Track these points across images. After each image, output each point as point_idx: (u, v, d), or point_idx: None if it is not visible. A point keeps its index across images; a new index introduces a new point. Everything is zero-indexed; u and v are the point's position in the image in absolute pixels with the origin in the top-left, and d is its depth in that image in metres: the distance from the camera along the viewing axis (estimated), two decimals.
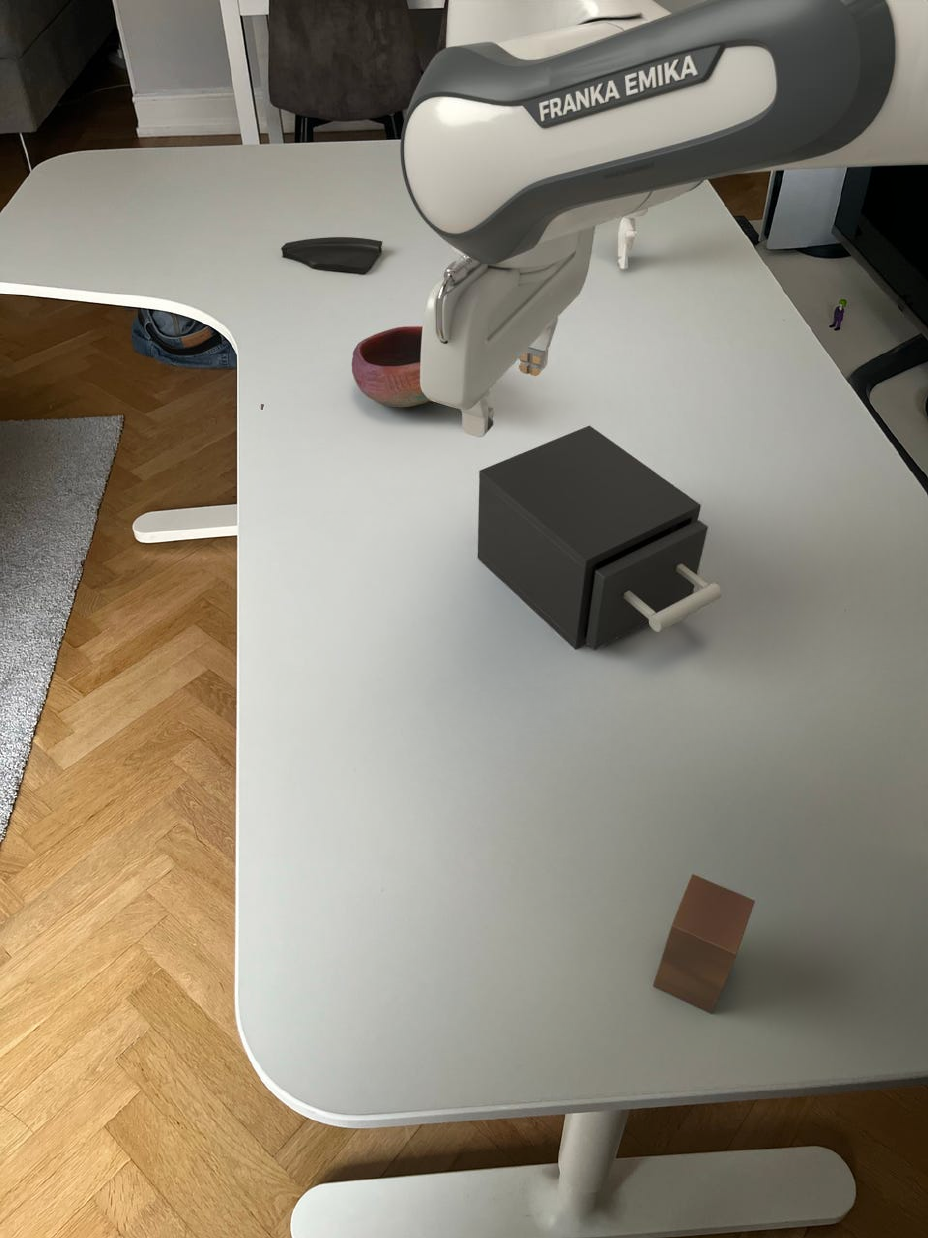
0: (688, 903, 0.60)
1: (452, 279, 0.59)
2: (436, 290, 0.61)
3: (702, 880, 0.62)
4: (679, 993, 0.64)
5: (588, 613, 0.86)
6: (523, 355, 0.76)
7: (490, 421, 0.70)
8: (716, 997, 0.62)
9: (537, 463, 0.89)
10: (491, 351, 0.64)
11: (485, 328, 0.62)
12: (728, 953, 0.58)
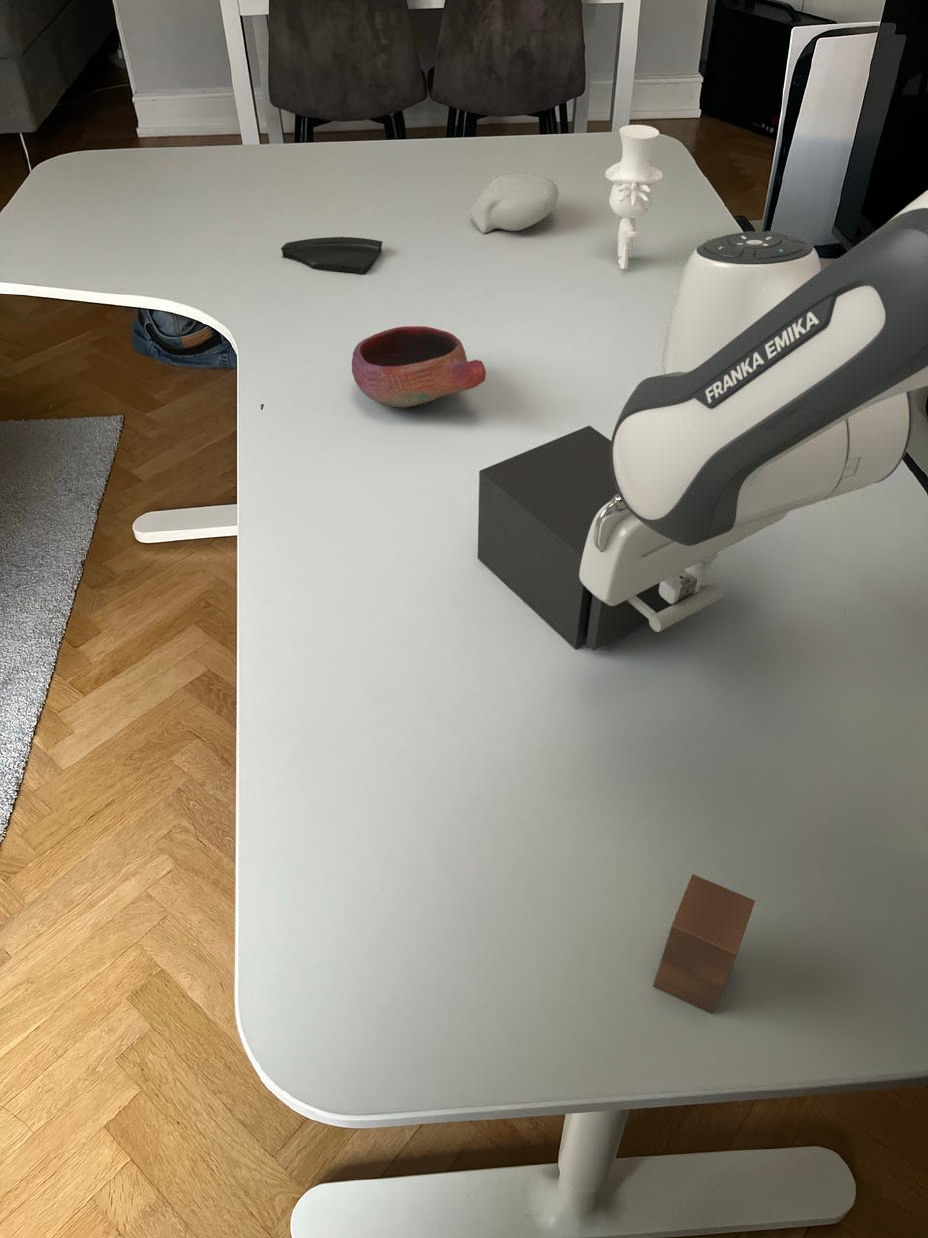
0: (688, 903, 0.60)
1: (616, 505, 0.69)
2: (607, 506, 0.71)
3: (702, 880, 0.62)
4: (679, 993, 0.64)
5: (588, 613, 0.86)
6: None
7: (682, 593, 0.81)
8: (716, 997, 0.62)
9: (537, 463, 0.89)
10: (646, 565, 0.73)
11: (639, 548, 0.71)
12: (728, 953, 0.58)
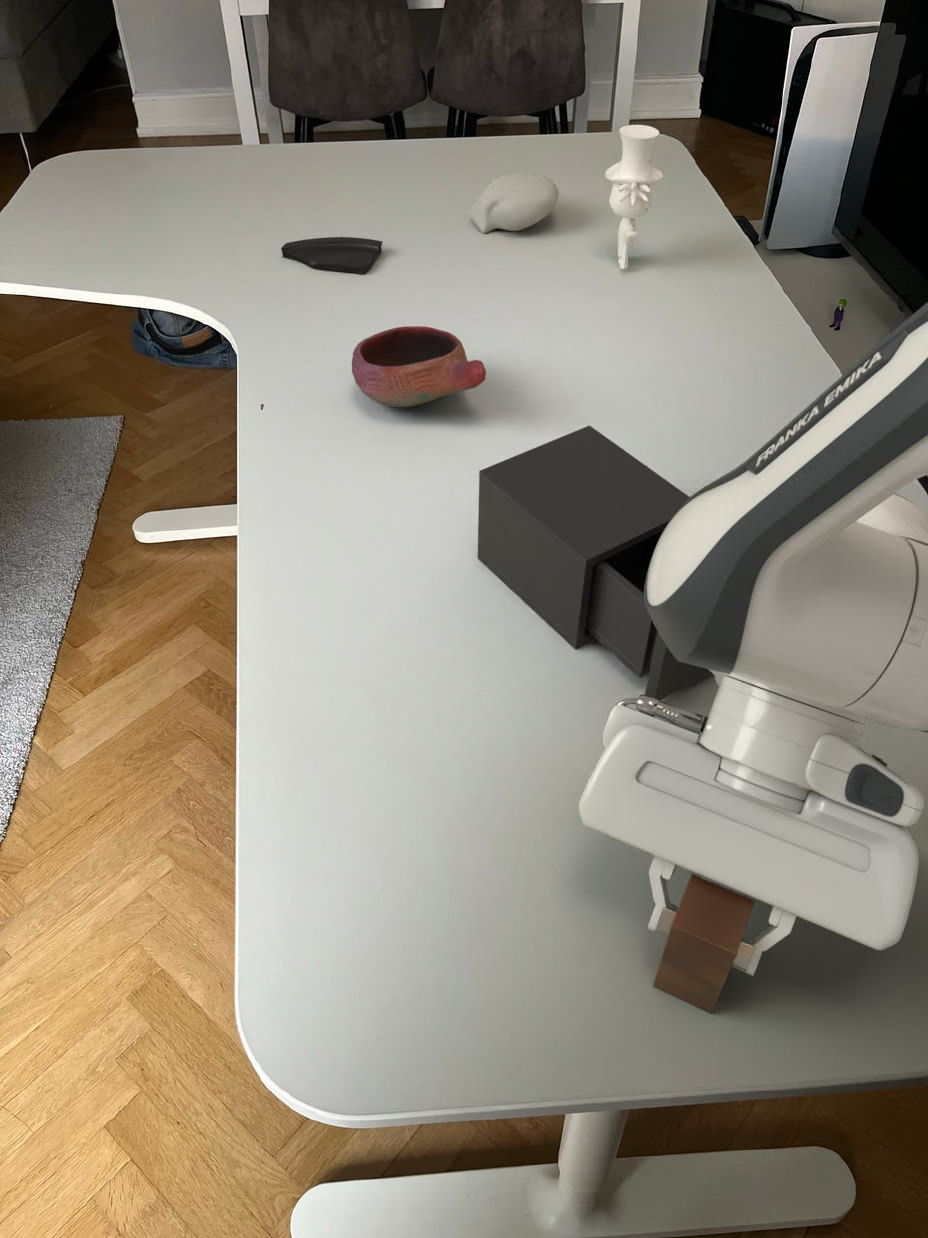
0: (687, 903, 0.60)
1: (636, 701, 0.64)
2: None
3: (702, 880, 0.62)
4: (679, 993, 0.64)
5: (647, 665, 0.82)
6: None
7: (665, 922, 0.62)
8: (715, 997, 0.62)
9: (537, 463, 0.89)
10: (638, 798, 0.62)
11: (634, 761, 0.62)
12: (728, 953, 0.58)
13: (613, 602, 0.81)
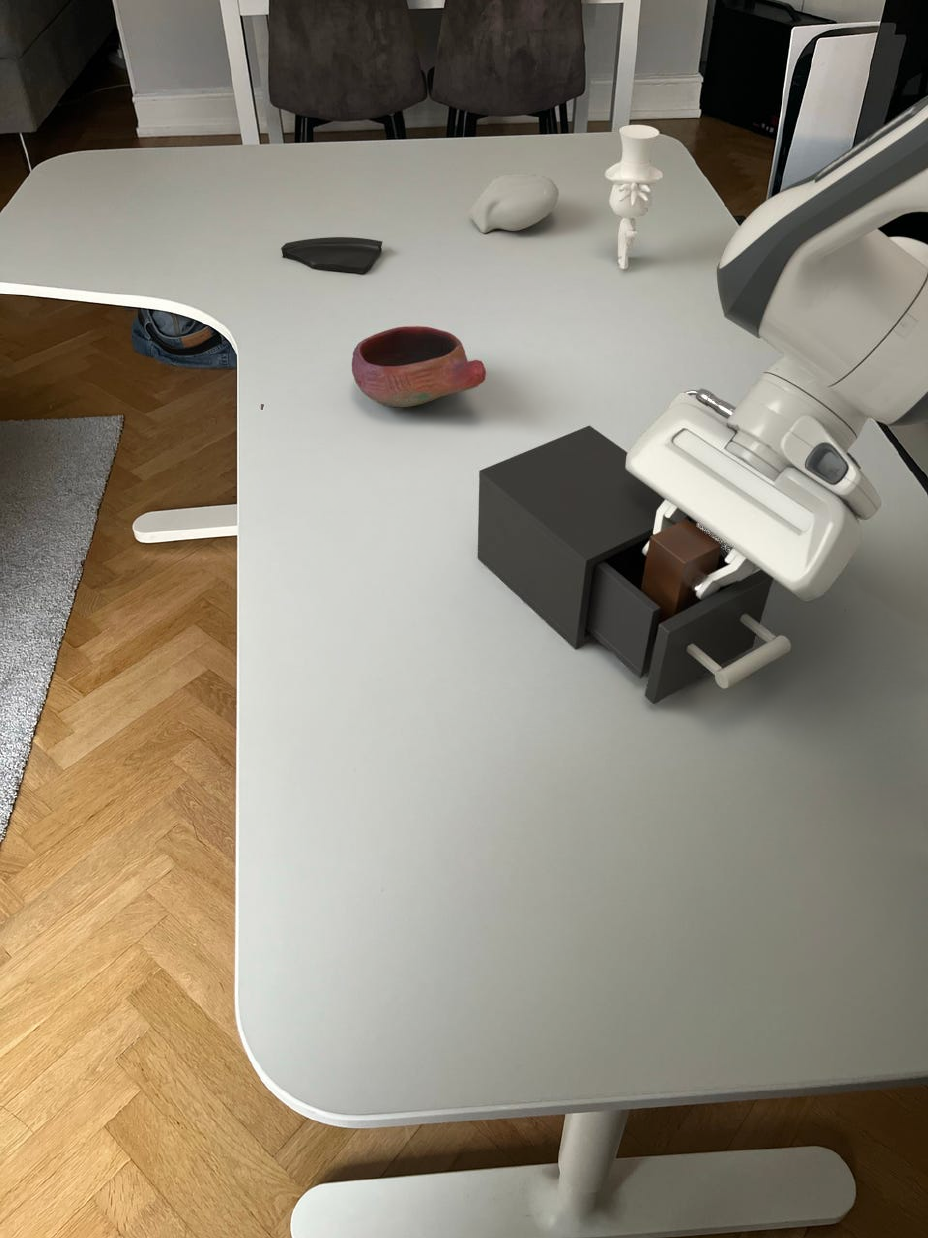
0: (671, 530, 0.79)
1: (697, 392, 0.83)
2: None
3: (691, 523, 0.80)
4: None
5: (647, 665, 0.82)
6: None
7: None
8: (672, 615, 0.80)
9: (537, 463, 0.89)
10: (667, 453, 0.81)
11: (675, 427, 0.82)
12: (681, 562, 0.77)
13: (613, 602, 0.81)
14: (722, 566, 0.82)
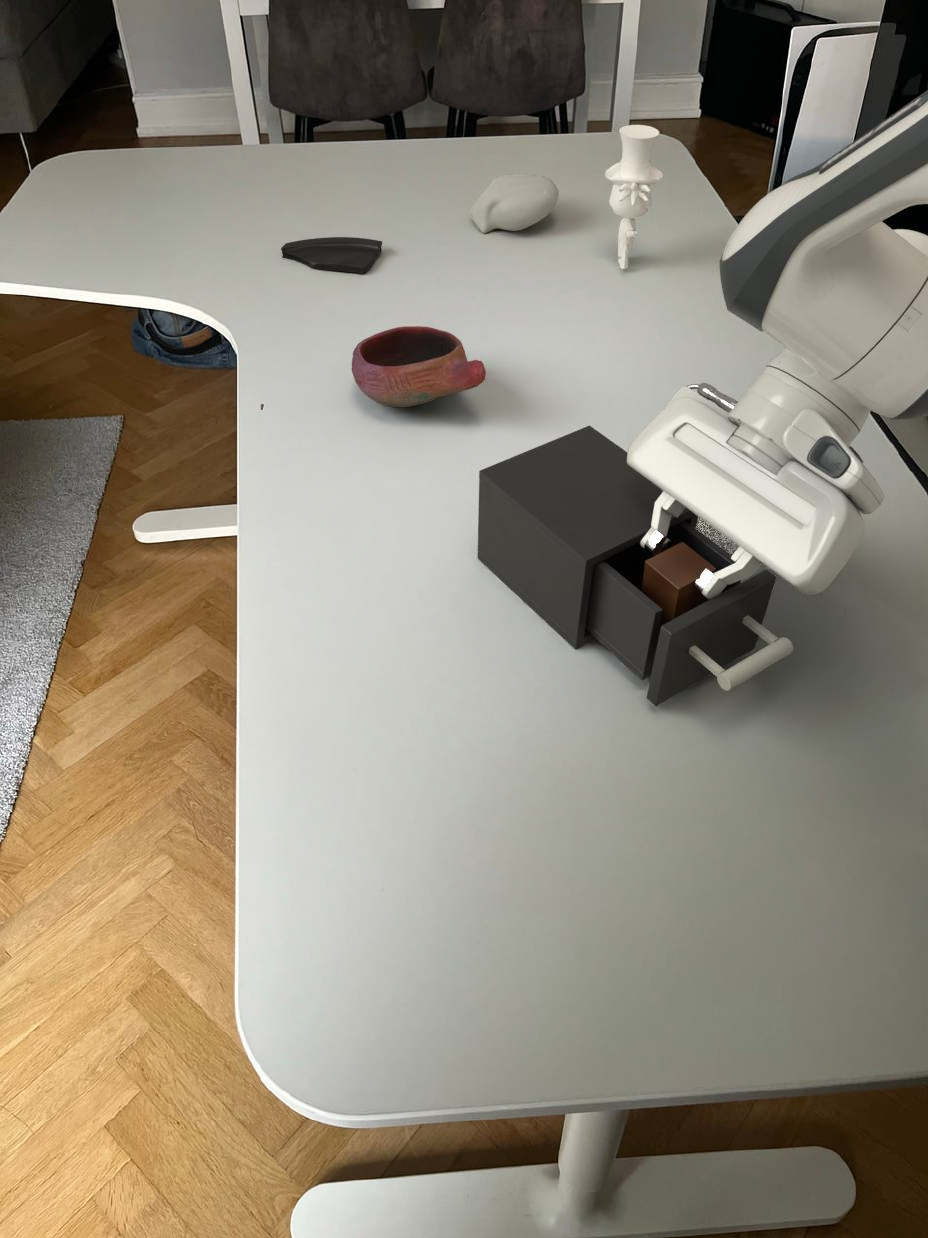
0: (666, 554, 0.80)
1: (698, 386, 0.83)
2: None
3: (686, 546, 0.81)
4: None
5: (649, 667, 0.82)
6: None
7: (652, 540, 0.81)
8: None
9: (537, 463, 0.89)
10: (669, 447, 0.81)
11: (676, 421, 0.81)
12: (674, 587, 0.78)
13: (615, 604, 0.81)
14: None
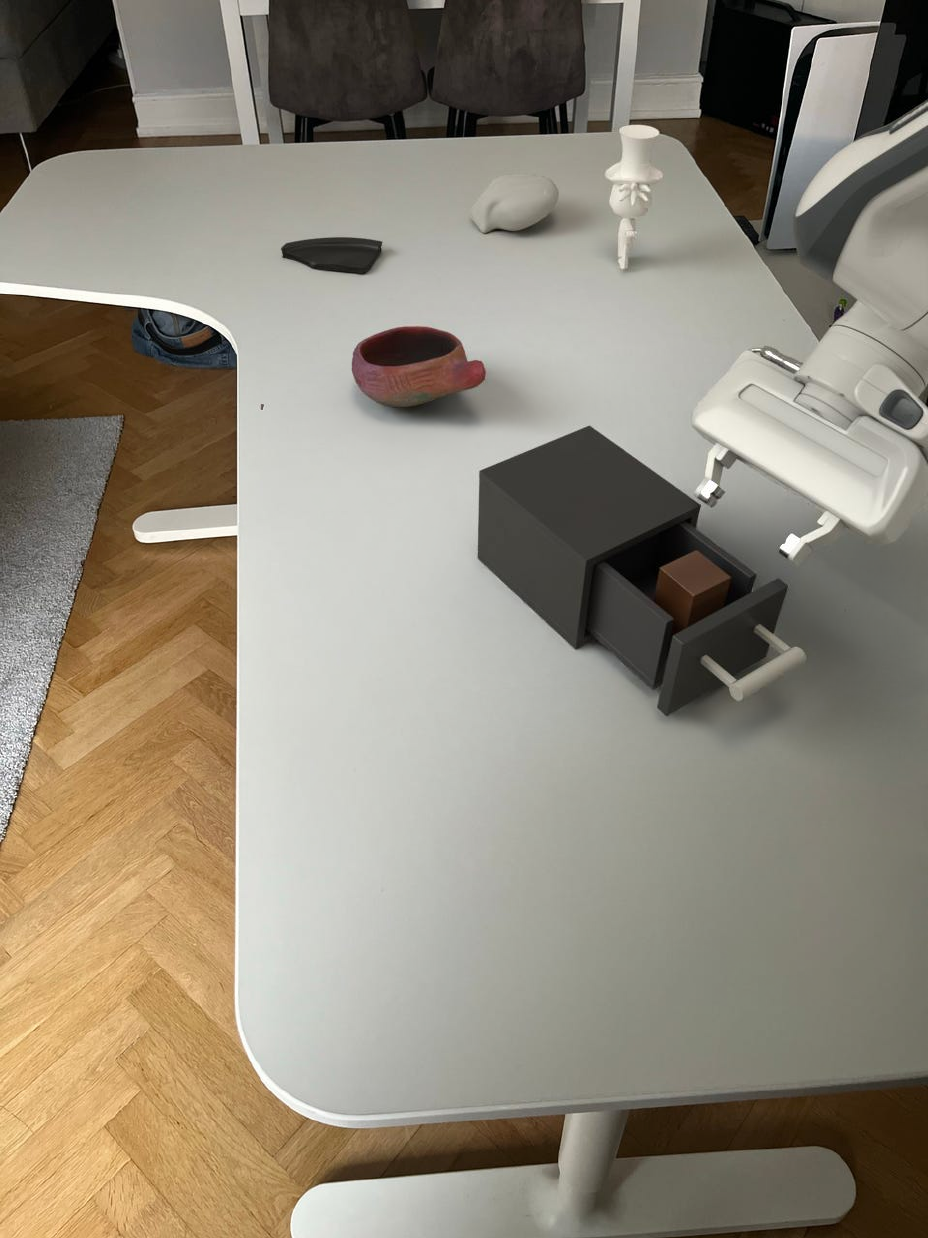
0: (680, 561, 0.80)
1: None
2: None
3: (701, 555, 0.80)
4: None
5: (659, 676, 0.81)
6: None
7: (707, 490, 0.84)
8: None
9: (537, 463, 0.89)
10: (735, 408, 0.83)
11: (741, 382, 0.83)
12: (689, 594, 0.77)
13: (625, 613, 0.80)
14: (735, 576, 0.81)
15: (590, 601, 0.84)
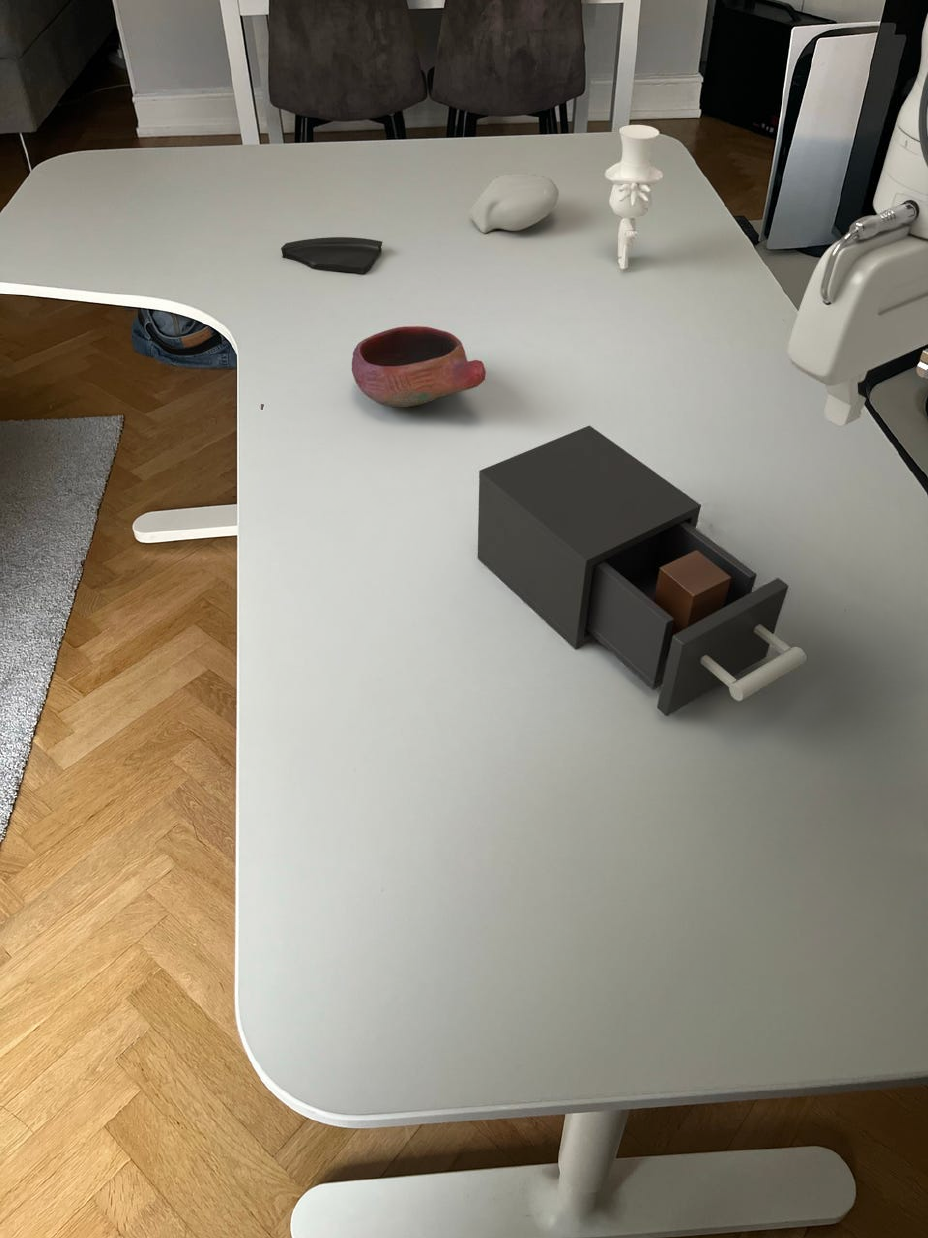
0: (680, 561, 0.80)
1: (857, 234, 0.53)
2: None
3: (701, 555, 0.80)
4: None
5: (659, 676, 0.81)
6: (925, 356, 0.67)
7: (857, 412, 0.63)
8: None
9: (537, 463, 0.89)
10: (879, 328, 0.57)
11: (879, 299, 0.55)
12: (689, 594, 0.77)
13: (625, 613, 0.80)
14: (735, 576, 0.81)
15: (590, 601, 0.84)
